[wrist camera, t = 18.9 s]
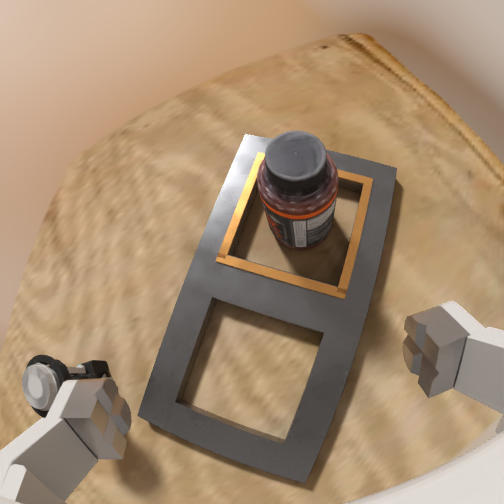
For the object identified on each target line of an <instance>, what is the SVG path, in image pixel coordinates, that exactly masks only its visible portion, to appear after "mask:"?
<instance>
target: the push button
mask: <svg viewBox="0 0 504 504" xmlns="http://www.w3.org/2000/svg"><path fill="white" fill-rule="evenodd" d="M48 364H49V365H50V366H46V365H48ZM106 370H108V365H107V362H106V361H99V360H92V361H89V362H86V363H83V364H80V365H78V366H76V367H66V365H64V364H63V363H62V362H61V361H59V360H55V359H53V358H52V357H50V356H47V355H37V356H35V357H33V358H32V359H31V360H30V362H29V363H28V365H27V367H26V370H25V372H24V374H23V378H22V386H23V392H24V395H25V397H26V400H27V401H28V402H29V403H30V405H31V406H32V408H33V409H34V411H35V412H36V413H37V414H39V415H40V416H42V417H44V418H46V416H47V414H48V412H49V410H50V408H51V406H52V404H53V402H54V400H55V398H56V396H57V394H58V392H59V390H60V388H61V386H62V384H63V382H65V381H67V380H80V379H100V378H109V379H112V377H108V376H107V372H106ZM71 375H74V376H71ZM112 380H113V379H112Z"/></svg>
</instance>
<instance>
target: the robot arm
mask: <svg viewBox="0 0 504 504" xmlns="http://www.w3.org/2000/svg"><path fill="white" fill-rule="evenodd" d="M404 330H405V331H406V332H407V333H408V335H407V337H406V338H405V340H404V341H403V356H404V361H405V363H406V365H407V367H408V369H409V370H410V372H411V373H414V374H416V375H419V380H418V384H419V385H420V386H421V388H422V389H423V391H424V392H425V394H426V395H427V397H428V398H430V397H433V396H435V395H438V394H440V393H443V392H445V391H447V390H450V389H452V388H454V389H455V390H457V391H458V392H460V393H462V394H464V395H466V396H468V397H470V398H472V399H474V400H476V401H478V402H480V403H482V404H484V405H486V406H488V407H490V408H492V409H494V410H496V411H498V412H500V413H502V414H503V416H502V418H501V420H500V422H499V424H498V425H497V428H496V433H497V435H496V436H494V437H492V438H491V439H489V440H488V441H486V442H484V443H483V444H481V445H479V446H478V447H476V448H474V449H472V450H471V451H469V452H467V453H465V454H463V455H461V456H459V457H458V458H456V459H454V460H452V461H450V462H448V463H446V464H444V465H442V466H440V467H438V468H436V469H434V470H431V471H429V472H427V473H425V474H423V475H420V476H418V477H416V478H413V479H411V480H409V481H406V482H404V483H401V484H399V485H396V486H394V487H391V488H388V489H386V490H383V491H380V492H377V493H374V494H371V495H368V496H365V497H362V498H359V499H356V500H353V501H349V502H346V503H342V504H504V330H500V329H496V328H492V327H487V328H484V327H483V326H482V325H481V324H480V323H479V322H478V321H477V320H476V319H474V318H473V317H472V316H471V315H470V314H469V313H468V312H467V311H465V310H464V309H463V308H462V307H461V306H460V305H459V304H457V303H456V302H455V301H451V300H450V301H448V302H445V303H443V304H440V305H438V306H436V307H433V308H430V309H428V310H425V311H422V312H419V313H416V314H413V315H410V316H407V318H406V320H405V326H404ZM117 390H118V387H117V386H116V384H115V383H114V381H113V380H112V379H109V378H100V379H80V380H67V381H65V382H63V384H62V386H61V388H60V390H59V392H58V394H57V396H56V398H55V400H54V402H53V404H52V406H51V408H50V410H49V412H48V414H47V416H46V418H41V419H40V420H39V421H37V422H36V423H35V424H33V425H32V426H31V427H30V428H28V429H27V430H26V431H25V432H23V433H22V434H21V435H20V436H18V437H17V438H16V439H15V440H13V441H12V442H11V443H9V444H8V445H7V446H6V447H4V448H3V449H2V450H1V451H0V504H67V503H66V502H64V501H65V500H66V499H67V498H68V497H69V495H70V494H71V493H72V492H73V491H74V489H75V488H76V487H77V486H78V485H79V483H80V482H81V481H82V480H83V479H84V477H85V476H86V475H87V474H88V472H89V471H90V470H91V469H92V468H93V466H94V465H95V464H96V463H97V462H98V459H123V457H124V453H125V448H126V444H127V440H126V439H125V437H124V435H125V434H126V433H127V432H128V431H129V430H130V426H131V412H130V409H129V406H128V404H127V402H126V401H125V399H124V398H122V397H121V396H119V395H118V394H117Z"/></svg>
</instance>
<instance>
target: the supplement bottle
mask: <svg viewBox="0 0 504 504" xmlns="http://www.w3.org/2000/svg"><path fill="white" fill-rule="evenodd" d="M338 178H339V177H338V171H337V167H336V165H335V163H334V161H333V160H332V158H331V157H330V156H329V155H328V154H327V153H326V149H325V147H324V145H323V143H322V142H321V141H320V140H319V139H318V138H317V137H316V136H314V135H312V134H310V133H307V132H303V131H289V132H285V133H282V134H280V135H278V136H277V137H275V138H274V139H273V140H272V141H271V142H270V143H269V144H268V146H267V148H266V151H265V157H264V159H263V160H262V162H261V164H260V166H259V169H258V172H257V186H258V190H259V195H260V198H261V200H262V204H263V207H264V210H265V213H266V217H267V220H268V223H269V226H270V229H271V231H272V233H273V234H274V236H275V237H276V239H277V240H278V241H279V242H281V243H282V244H283V245H285V246H287V247H289V248H292V249H309V248H312V247H315V246H317V245H318V244H320V243H321V242H322V241H323V240H324V239H325V238H326V237H327V235H328V234H329V232H330V230H331V227H332V223H333V217H334V211H335V204H336V198H337V192H338V183H339V179H338Z"/></svg>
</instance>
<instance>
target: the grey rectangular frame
mask: <svg viewBox="0 0 504 504" xmlns="http://www.w3.org/2000/svg"><path fill="white" fill-rule="evenodd" d="M272 140H273V139H270V138H265V137H259V136H253V135H247V134H245V136H244V138H243V141H242V143H241V145H240V147H239V150H238V152H237V154H236V156H235V159H234V161H233V163H232V166H231V168H230V170H229V173H228V175H227V177H226V180H225V182H224V184H223V187H222V189H221V191H220V194H219V196H218V198H217V201H216V203H215V206H214V208H213V211H212V213H211V215H210V218H209V220H208V223H207V225H206V228H205V230H204V233H203V235H202V238H201V240H200V243H199V245H198V248H197V250H196V253H195V255H194V258H193V260H192V263H191V265H190V268H189V271H188V273H187V276H186V278H185V281H184V284H183V286H182V289H181V292H180V294H179V297H178V300H177V302H176V305H175V308H174V310H173V313H172V316H171V319H170V321H169V324H168V327H167V330H166V333H165V335H164V338H163V341H162V344H161V347H160V350H159V352H158V355H157V358H156V361H155V364H154V367H153V370H152V373H151V376H150V379H149V382H148V385H147V388H146V391H145V394H144V397H143V400H142V403H141V406H140V409H139V412H138V416H139V417H141V418H142V419H144V420H146V421H148V422H150V423H152V424H154V425H156V426H158V427H160V428H162V429H164V430H166V431H168V432H170V433H172V434H174V435H176V436H178V437H180V438H182V439H184V440H187V441H189V442H191V443H193V444H195V445H198V446H200V447H202V448H205V449H207V450H209V451H212V452H214V453H217V454H219V455H222V456H224V457H227V458H229V459H232V460H234V461H237V462H240V463H243V464H245V465H248V466H251V467H254V468H257V469H260V470H263V471H266V472H269V473H272V474H275V475H278V476H282V477H285V478H288V479H292V480H295V481H299V482H302V483H305V482H306V480H307V478H308V476H309V474H310V471H311V469H312V467H313V465H314V462H315V460H316V458H317V456H318V453H319V451H320V449H321V446H322V444H323V441H324V439H325V436H326V434H327V432H328V429H329V426H330V424H331V421H332V419H333V416H334V414H335V411H336V408H337V406H338V403H339V400H340V397H341V395H342V392H343V389H344V386H345V383H346V380H347V377H348V374H349V371H350V368H351V365H352V362H353V359H354V356H355V353H356V350H357V346H358V343H359V340H360V336H361V333H362V330H363V326H364V323H365V319H366V315H367V312H368V308H369V304H370V301H371V297H372V293H373V289H374V285H375V281H376V277H377V272H378V268H379V264H380V259H381V255H382V250H383V245H384V241H385V236H386V231H387V226H388V220H389V215H390V209H391V203H392V198H393V191H394V185H395V178H396V171H397V168H394V167H391V166H387V165H384V164H380V163H377V162H373V161H369V160H365V159H362V158H358V157H354V156H350V155H346V154H342V153H337V152H333V151H329V150H326V153H327V154H328V155H329V156H330V157H331V158H332V160H333V161H334V163H335V165H336V167H337V171H338V177H339V178H338V179H339V183H338V187H341V188H345V189H349V190H353V191H356V192H360V193H361V196H360V200H359V205H358V209H357V213H356V218H355V222H354V226H353V230H352V234H351V238H350V242H349V246H348V250H347V254H346V258H345V261H344V265H343V269H342V273H341V276H340V280H339V283H338V287H337V286H334V285H330V284H327V283H323V282H320V281H317V280H313V279H310V278H306V277H303V276H299V275H296V274H292V273H289V272H285V271H282V270H278V269H275V268H272V267H268V266H265V265H261V264H258V263H254V262H251V261H248V260H244V259H241V258H237V257H234V256H233V254H234V252H235V249H236V246H237V244H238V241H239V238H240V236H241V233H242V230H243V228H244V225H245V222H246V219H247V217H248V214H249V212H250V209H251V206H252V204H253V201H254V198H255V196H256V193H257V190H258V186H257V172H258V169H259V166H260V164H261V162H262V160H263V159H264V157H265V151H266V148H267V146H268V144H269V143H270V142H271V141H272ZM217 300H218V301H221V302H224V303H227V304H230V305H233V306H236V307H239V308H242V309H245V310H248V311H251V312H254V313H257V314H261V315H264V316H267V317H270V318H273V319H276V320H279V321H283V322H286V323H289V324H292V325H296V326H299V327H302V328H305V329H309V330H312V331H315V332H319V333H322V334H323V336H322V340H321V343H320V346H319V349H318V352H317V355H316V358H315V361H314V364H313V367H312V370H311V372H310V375H309V378H308V381H307V384H306V387H305V389H304V392H303V395H302V398H301V400H300V403H299V406H298V408H297V411H296V413H295V416H294V419H293V421H292V424H291V426H290V429H289V431H288V434H287V436H286V439H285V440H284V439H281V438H278V437H275V436H272V435H269V434H266V433H263V432H260V431H257V430H254V429H251V428H249V427H246V426H243V425H240V424H238V423H235V422H232V421H230V420H227V419H225V418H222V417H220V416H217V415H215V414H212V413H210V412H207V411H205V410H203V409H200V408H198V407H196V406H193V405H191V404H189V403H187V402H184V401H182V400H181V399H182V396H183V393H184V390H185V388H186V385H187V382H188V379H189V376H190V373H191V371H192V368H193V365H194V362H195V359H196V356H197V354H198V351H199V348H200V345H201V342H202V340H203V337H204V334H205V331H206V328H207V326H208V323H209V320H210V317H211V315H212V312H213V309H214V306H215V304H216V301H217Z"/></svg>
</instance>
